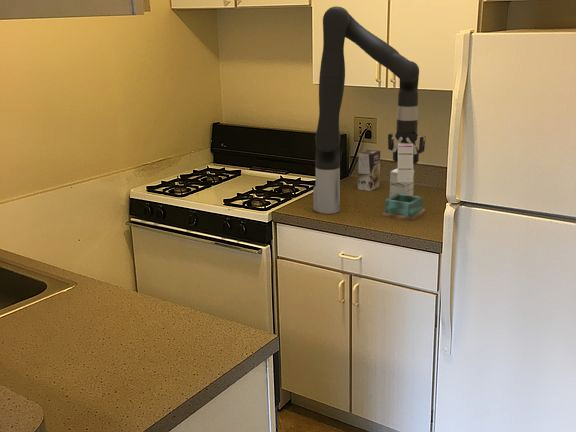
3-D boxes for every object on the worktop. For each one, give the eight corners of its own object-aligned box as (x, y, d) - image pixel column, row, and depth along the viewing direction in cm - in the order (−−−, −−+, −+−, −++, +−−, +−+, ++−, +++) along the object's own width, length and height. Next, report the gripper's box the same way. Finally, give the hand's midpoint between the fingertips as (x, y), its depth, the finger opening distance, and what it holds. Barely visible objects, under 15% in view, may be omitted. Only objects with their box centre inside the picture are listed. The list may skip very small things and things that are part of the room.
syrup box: (412, 182, 235) (414, 143, 231) (396, 182, 237) (397, 143, 232) (413, 178, 241) (414, 140, 236) (397, 178, 242) (398, 140, 238)
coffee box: (370, 191, 274) (371, 154, 269) (357, 189, 277) (357, 152, 272) (379, 186, 281) (381, 150, 276) (366, 184, 284) (367, 149, 279)
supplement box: (388, 201, 259) (389, 171, 255) (397, 197, 265) (398, 167, 261) (405, 204, 255) (406, 173, 251) (413, 200, 260) (414, 169, 256)
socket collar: (380, 215, 241) (381, 200, 239) (394, 206, 251) (395, 192, 249) (413, 221, 234) (413, 205, 232) (426, 211, 244) (427, 196, 243)
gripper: (384, 118, 232) (383, 162, 237) (422, 121, 225) (420, 167, 230) (393, 115, 238) (391, 158, 243) (430, 118, 231) (427, 162, 236)
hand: (405, 162), depth 237 cm, fingers closed on syrup box, 7 cm apart
